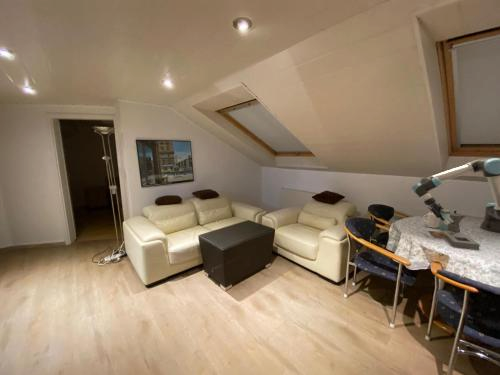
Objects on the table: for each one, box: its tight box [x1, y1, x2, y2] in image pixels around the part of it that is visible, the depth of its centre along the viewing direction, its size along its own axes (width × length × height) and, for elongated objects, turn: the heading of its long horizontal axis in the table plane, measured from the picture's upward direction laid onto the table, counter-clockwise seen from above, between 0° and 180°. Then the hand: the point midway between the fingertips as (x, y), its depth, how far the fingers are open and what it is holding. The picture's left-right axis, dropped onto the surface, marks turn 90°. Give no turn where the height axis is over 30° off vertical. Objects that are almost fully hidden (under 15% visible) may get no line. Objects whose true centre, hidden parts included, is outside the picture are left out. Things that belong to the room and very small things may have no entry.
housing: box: [445, 234, 481, 251], centre depth 158 cm, size 14×14×4 cm
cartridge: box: [438, 208, 452, 232], centre depth 172 cm, size 6×6×17 cm
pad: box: [428, 230, 456, 239], centre depth 175 cm, size 16×12×1 cm
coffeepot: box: [447, 210, 466, 234], centre depth 182 cm, size 15×9×18 cm, turn 34°
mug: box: [422, 212, 440, 229], centre depth 195 cm, size 12×8×12 cm
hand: (449, 223), depth 169 cm, fingers closed on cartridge, 6 cm apart
